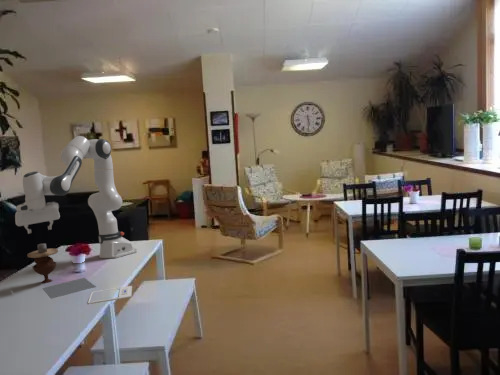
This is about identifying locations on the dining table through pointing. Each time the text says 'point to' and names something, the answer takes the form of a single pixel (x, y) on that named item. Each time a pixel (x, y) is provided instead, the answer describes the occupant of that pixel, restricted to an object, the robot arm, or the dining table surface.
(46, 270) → the ice cream bowl
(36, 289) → the dining table surface
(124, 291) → the photo frame
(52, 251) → the walnut lid
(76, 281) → the rubber mat
